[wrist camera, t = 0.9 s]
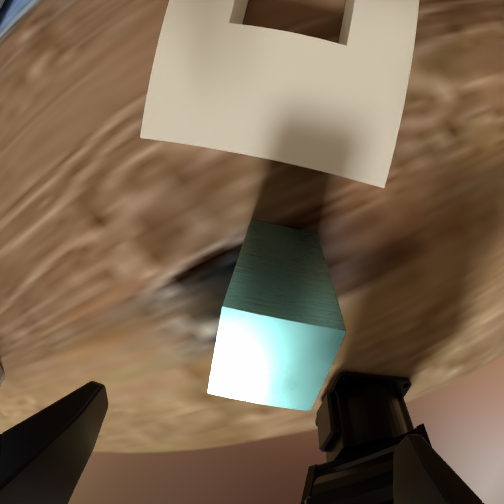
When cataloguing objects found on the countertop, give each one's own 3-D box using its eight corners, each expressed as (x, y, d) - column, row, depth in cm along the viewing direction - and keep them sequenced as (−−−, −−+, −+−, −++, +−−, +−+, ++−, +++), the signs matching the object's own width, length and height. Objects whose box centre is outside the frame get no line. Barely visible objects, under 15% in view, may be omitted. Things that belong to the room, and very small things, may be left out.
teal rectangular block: (316, 233, 19) (346, 330, 10) (300, 291, 21) (309, 411, 11) (251, 219, 19) (222, 306, 10) (239, 279, 21) (207, 392, 11)
